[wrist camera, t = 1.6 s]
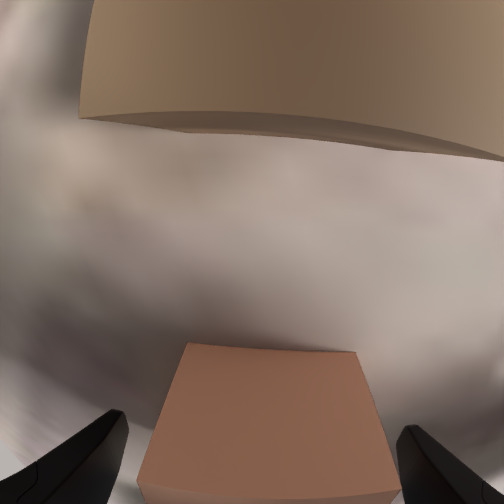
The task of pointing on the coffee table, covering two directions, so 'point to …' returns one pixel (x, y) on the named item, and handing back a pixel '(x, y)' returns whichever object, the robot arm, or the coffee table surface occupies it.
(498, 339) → the coffee table surface
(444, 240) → the coffee table surface
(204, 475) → the terracotta block
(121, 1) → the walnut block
